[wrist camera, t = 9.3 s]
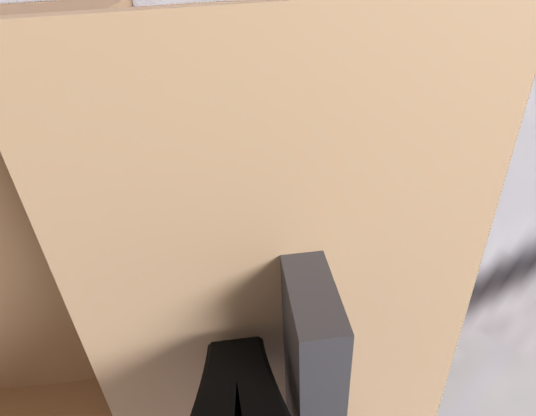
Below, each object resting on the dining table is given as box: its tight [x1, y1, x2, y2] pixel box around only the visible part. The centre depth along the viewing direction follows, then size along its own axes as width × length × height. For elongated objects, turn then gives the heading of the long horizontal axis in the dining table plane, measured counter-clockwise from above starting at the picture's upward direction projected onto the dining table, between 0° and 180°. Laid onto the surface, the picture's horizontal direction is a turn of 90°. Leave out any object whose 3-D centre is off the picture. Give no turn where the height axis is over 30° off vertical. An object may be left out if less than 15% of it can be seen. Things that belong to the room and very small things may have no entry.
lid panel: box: [0, 0, 536, 416], centre depth 10 cm, size 16×10×3 cm, turn 3°
